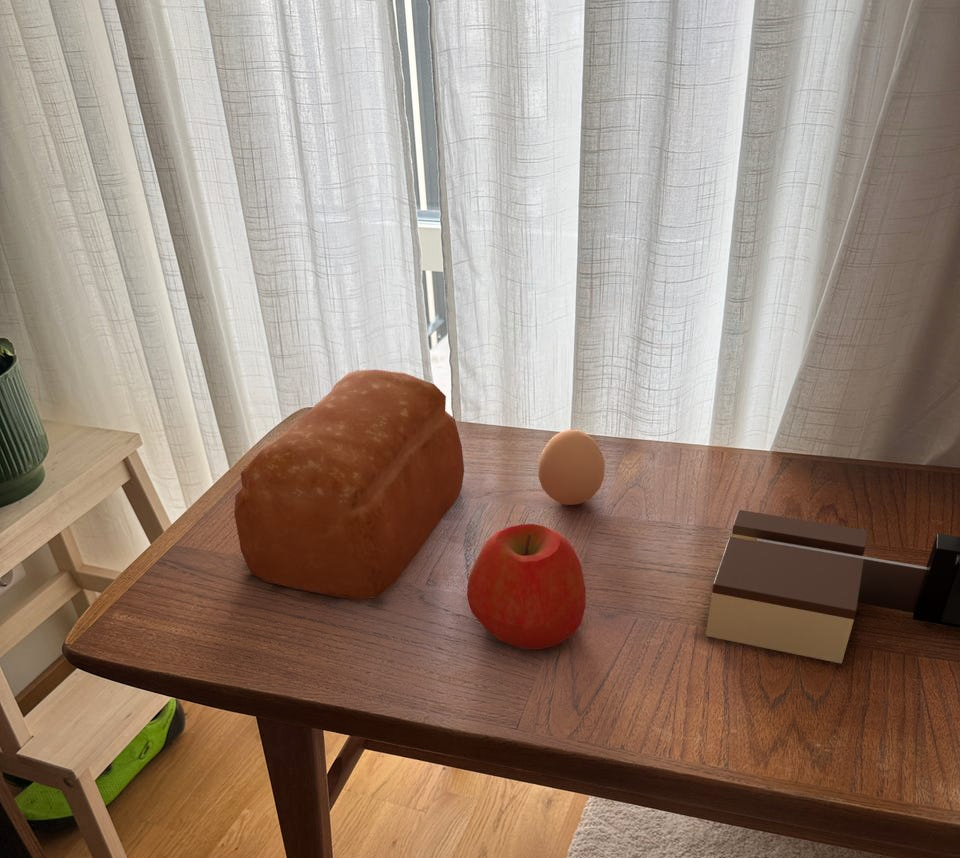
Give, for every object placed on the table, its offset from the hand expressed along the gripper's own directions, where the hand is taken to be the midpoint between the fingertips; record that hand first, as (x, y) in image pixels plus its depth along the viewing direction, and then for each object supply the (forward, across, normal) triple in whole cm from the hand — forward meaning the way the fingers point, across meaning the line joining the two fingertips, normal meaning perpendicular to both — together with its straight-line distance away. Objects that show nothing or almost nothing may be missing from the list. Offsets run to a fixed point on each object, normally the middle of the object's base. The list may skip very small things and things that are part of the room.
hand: (957, 610), depth 84 cm
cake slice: (+2, -2, -15) cm, 15 cm away
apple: (+2, +13, -37) cm, 39 cm away
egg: (+2, -10, -40) cm, 41 cm away
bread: (+2, +3, -60) cm, 60 cm away
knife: (+1, 0, -7) cm, 8 cm away
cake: (+2, +5, -15) cm, 16 cm away
